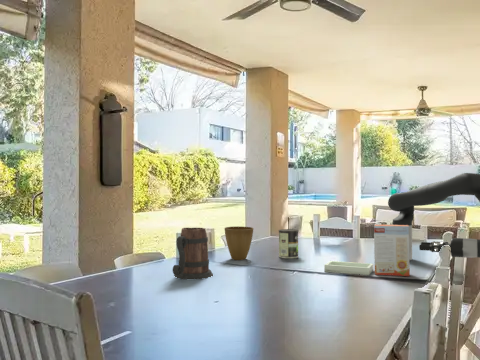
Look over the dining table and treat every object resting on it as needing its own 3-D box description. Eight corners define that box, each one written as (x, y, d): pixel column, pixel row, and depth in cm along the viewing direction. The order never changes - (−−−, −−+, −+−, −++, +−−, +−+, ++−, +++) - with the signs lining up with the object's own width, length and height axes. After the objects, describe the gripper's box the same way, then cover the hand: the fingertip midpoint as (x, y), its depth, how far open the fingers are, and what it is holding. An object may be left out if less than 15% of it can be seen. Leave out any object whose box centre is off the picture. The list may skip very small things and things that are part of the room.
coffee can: (299, 255, 246) (299, 229, 246) (297, 258, 236) (297, 231, 236) (279, 255, 248) (279, 228, 248) (277, 258, 238) (277, 230, 238)
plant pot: (219, 260, 232) (219, 228, 232) (231, 256, 246) (231, 226, 246) (247, 262, 227) (247, 229, 227) (257, 257, 240) (257, 226, 240)
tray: (330, 267, 211) (330, 260, 211) (373, 270, 203) (373, 263, 203) (324, 271, 202) (324, 264, 202) (369, 275, 193) (369, 268, 193)
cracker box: (409, 274, 195) (409, 224, 195) (409, 276, 190) (409, 226, 190) (375, 272, 200) (374, 223, 200) (374, 274, 194) (373, 225, 194)
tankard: (186, 270, 207) (186, 225, 207) (220, 273, 200) (220, 227, 200) (156, 280, 186) (156, 231, 186) (193, 284, 179) (193, 232, 179)
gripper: (463, 236, 189) (421, 235, 196) (464, 240, 177) (418, 238, 184) (464, 254, 189) (421, 252, 196) (464, 260, 177) (419, 257, 183)
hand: (420, 246), depth 190 cm, fingers open, 8 cm apart
